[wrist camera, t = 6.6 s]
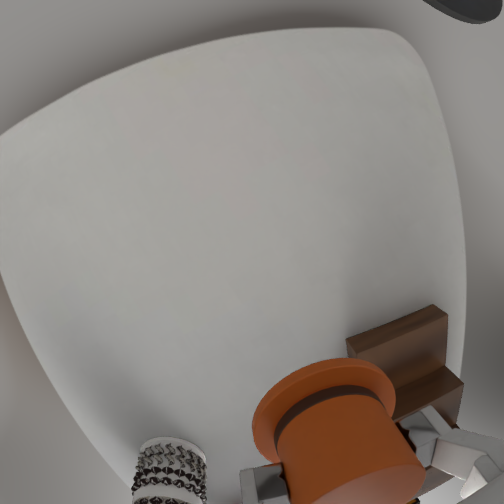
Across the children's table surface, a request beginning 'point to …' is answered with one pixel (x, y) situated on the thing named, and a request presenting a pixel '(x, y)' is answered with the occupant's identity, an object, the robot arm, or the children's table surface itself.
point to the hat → (337, 436)
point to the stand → (415, 370)
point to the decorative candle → (170, 473)
